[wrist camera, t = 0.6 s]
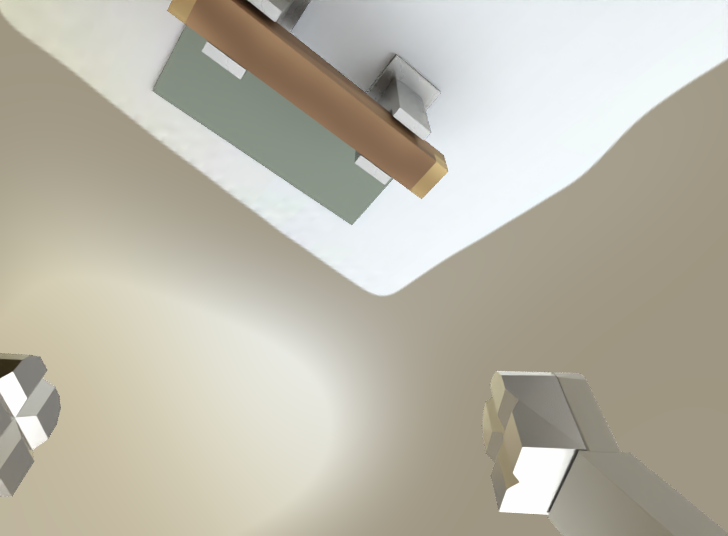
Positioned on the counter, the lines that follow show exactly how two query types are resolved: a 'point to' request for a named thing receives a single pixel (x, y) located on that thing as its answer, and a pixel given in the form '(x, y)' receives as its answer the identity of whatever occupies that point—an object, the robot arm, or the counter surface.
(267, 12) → the post
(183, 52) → the mat
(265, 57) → the rail
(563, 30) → the counter surface
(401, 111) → the post
